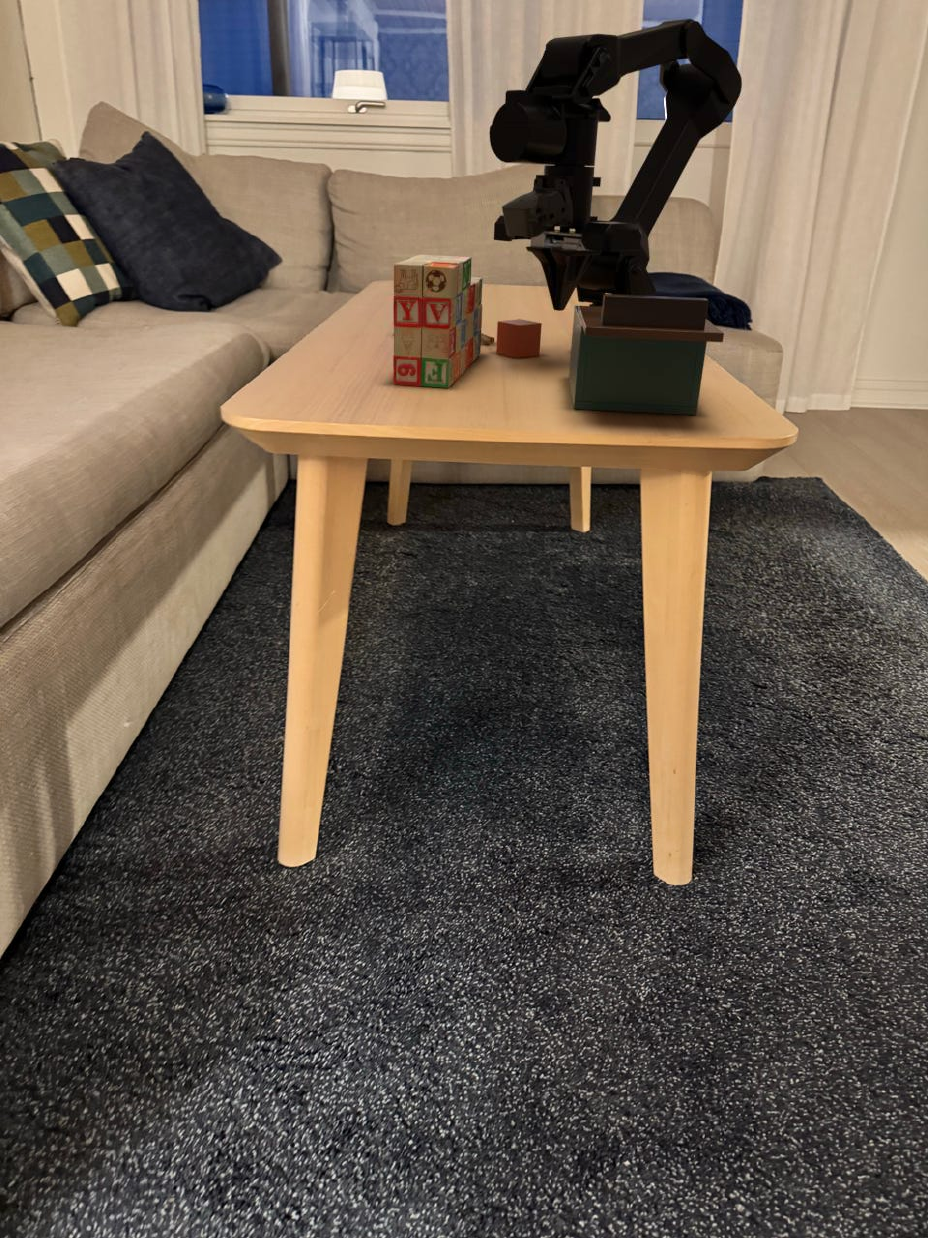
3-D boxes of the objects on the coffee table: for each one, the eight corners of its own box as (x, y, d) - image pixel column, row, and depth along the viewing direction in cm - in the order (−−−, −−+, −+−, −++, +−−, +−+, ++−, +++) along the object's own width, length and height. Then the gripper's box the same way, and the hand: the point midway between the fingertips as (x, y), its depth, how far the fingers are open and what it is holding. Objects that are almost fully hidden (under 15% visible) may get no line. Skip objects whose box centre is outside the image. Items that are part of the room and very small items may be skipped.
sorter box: (568, 379, 103) (574, 305, 100) (674, 384, 103) (684, 310, 99) (573, 409, 90) (581, 324, 86) (696, 415, 89) (708, 330, 86)
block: (518, 350, 119) (519, 318, 117) (539, 355, 116) (542, 323, 115) (495, 353, 117) (497, 321, 115) (517, 358, 114) (519, 325, 112)
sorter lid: (577, 313, 93) (580, 279, 92) (695, 318, 93) (700, 284, 91) (584, 335, 80) (588, 296, 78) (722, 342, 79) (728, 302, 78)
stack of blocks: (433, 351, 116) (435, 248, 111) (481, 355, 115) (485, 250, 110) (392, 384, 97) (392, 261, 92) (449, 388, 96) (453, 264, 91)
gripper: (461, 162, 104) (458, 305, 111) (582, 164, 92) (570, 325, 99) (530, 165, 111) (522, 299, 118) (651, 168, 98) (635, 318, 105)
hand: (558, 310), depth 110 cm, fingers closed
